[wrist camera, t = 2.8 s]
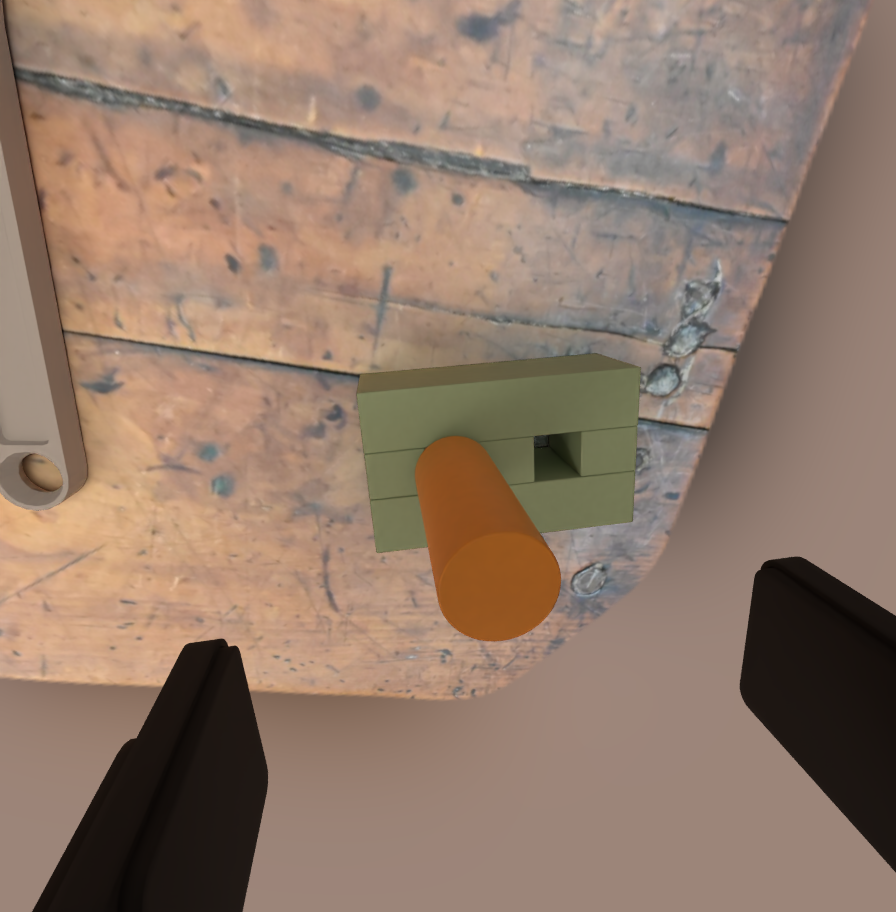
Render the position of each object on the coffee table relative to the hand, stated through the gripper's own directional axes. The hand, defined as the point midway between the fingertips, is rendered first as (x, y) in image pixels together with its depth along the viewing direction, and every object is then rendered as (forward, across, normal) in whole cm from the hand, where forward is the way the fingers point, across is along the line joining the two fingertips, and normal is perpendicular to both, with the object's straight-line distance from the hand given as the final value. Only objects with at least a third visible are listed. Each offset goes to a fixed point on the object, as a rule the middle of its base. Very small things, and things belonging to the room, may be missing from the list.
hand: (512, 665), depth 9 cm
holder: (+14, -2, 0) cm, 15 cm away
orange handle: (+14, 0, 0) cm, 14 cm away
